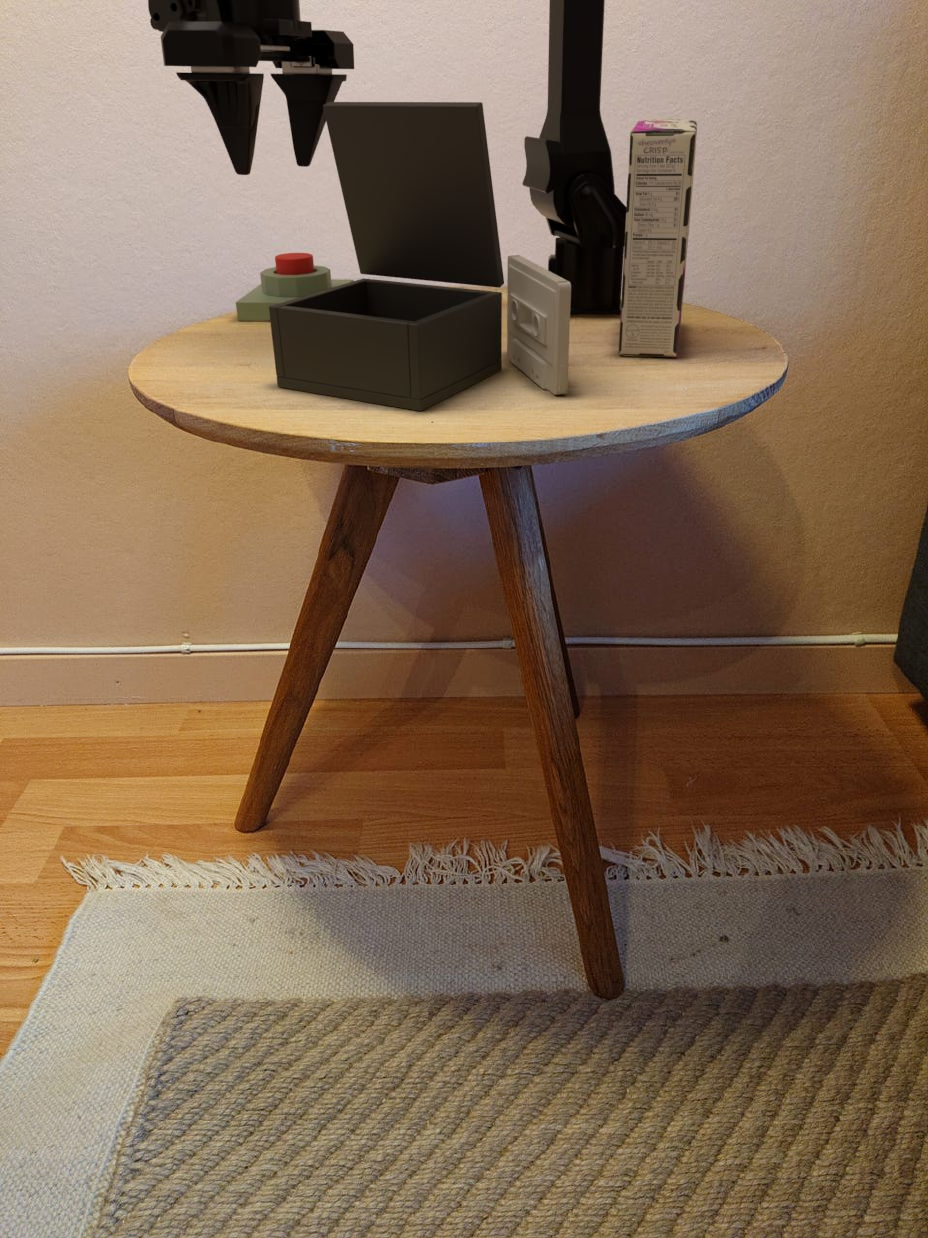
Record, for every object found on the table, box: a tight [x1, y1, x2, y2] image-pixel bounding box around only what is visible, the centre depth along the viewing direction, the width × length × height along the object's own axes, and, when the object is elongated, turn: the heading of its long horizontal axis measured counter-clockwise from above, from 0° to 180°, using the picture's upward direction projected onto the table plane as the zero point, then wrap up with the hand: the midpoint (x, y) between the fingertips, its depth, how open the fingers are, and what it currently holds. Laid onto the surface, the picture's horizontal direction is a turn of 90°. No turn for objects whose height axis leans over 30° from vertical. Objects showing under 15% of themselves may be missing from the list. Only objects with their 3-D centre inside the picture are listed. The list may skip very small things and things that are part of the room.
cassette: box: [506, 254, 571, 396], centre depth 71 cm, size 12×2×8 cm, turn 15°
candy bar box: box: [618, 118, 698, 358], centre depth 77 cm, size 11×5×16 cm, turn 168°
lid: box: [323, 101, 505, 288], centre depth 70 cm, size 12×13×1 cm
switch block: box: [235, 264, 355, 322], centre depth 94 cm, size 11×9×4 cm
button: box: [274, 252, 315, 275], centre depth 93 cm, size 4×4×2 cm
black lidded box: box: [269, 277, 503, 412], centre depth 71 cm, size 12×13×6 cm
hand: (274, 170), depth 80 cm, fingers open, 9 cm apart
